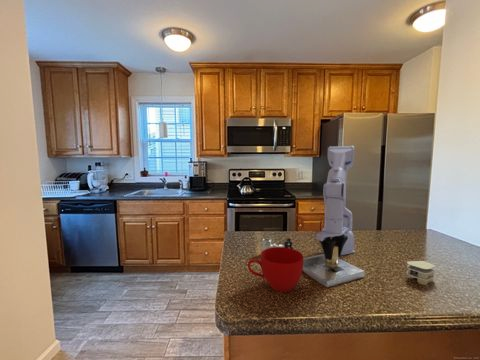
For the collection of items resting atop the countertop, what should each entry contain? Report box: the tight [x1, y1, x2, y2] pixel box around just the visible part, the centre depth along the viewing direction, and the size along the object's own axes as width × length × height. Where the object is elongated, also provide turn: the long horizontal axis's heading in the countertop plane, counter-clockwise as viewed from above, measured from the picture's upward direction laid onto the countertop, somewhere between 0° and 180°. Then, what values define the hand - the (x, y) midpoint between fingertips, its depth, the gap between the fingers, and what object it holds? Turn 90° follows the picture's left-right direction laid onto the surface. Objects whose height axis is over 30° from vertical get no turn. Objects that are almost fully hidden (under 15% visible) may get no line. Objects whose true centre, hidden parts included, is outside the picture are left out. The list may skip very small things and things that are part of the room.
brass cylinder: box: [325, 244, 338, 268], centre depth 81 cm, size 4×4×7 cm
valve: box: [261, 238, 294, 252], centre depth 98 cm, size 7×7×12 cm
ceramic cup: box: [247, 247, 304, 293], centre depth 73 cm, size 13×17×10 cm
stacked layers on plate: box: [405, 260, 437, 286], centre depth 77 cm, size 10×9×6 cm
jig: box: [302, 253, 366, 288], centre depth 81 cm, size 16×12×4 cm
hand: (332, 257), depth 81 cm, fingers closed on brass cylinder, 4 cm apart
